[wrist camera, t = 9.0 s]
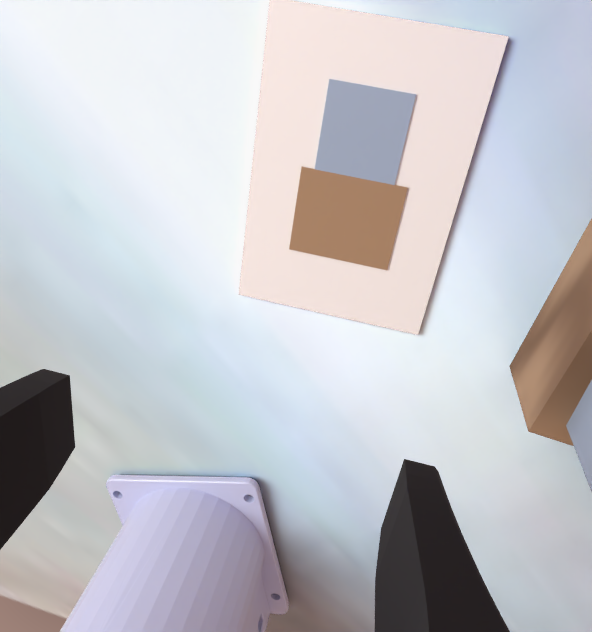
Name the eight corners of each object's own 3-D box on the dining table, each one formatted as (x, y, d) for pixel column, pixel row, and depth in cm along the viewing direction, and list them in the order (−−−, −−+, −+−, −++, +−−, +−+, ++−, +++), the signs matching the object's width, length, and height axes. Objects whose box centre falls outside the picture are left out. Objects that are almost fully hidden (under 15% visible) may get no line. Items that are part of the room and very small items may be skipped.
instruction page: (417, 332, 20) (418, 335, 20) (239, 292, 21) (238, 295, 21) (507, 36, 15) (509, 36, 15) (271, -3, 16) (269, -3, 16)
